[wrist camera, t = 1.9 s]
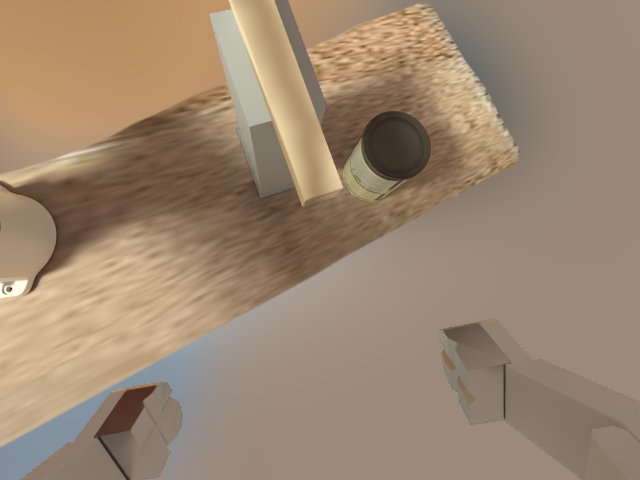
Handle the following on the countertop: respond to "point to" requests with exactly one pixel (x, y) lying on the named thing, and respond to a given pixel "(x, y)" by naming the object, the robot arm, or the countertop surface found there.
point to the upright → (261, 99)
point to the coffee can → (386, 156)
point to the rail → (287, 100)
